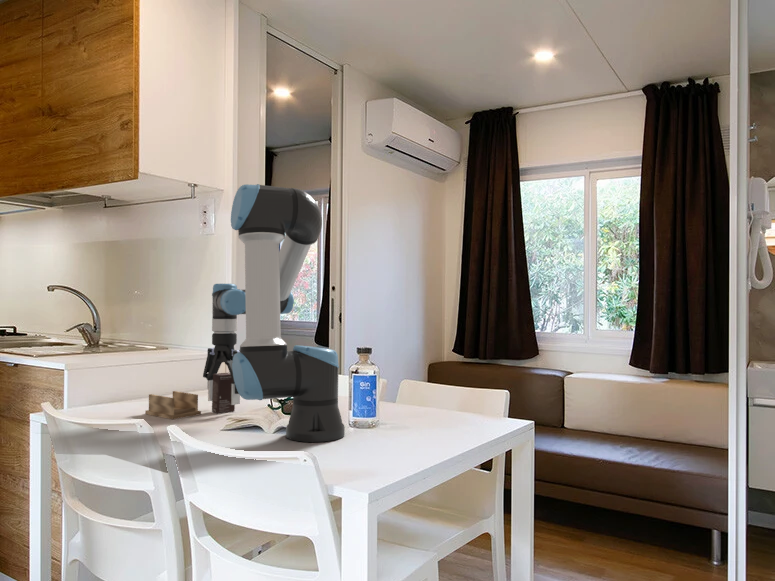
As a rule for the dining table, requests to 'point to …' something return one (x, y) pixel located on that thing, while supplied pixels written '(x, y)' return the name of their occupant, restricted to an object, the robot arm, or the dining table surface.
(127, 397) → the dining table surface
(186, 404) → the holder
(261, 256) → the robot arm
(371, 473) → the dining table surface
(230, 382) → the box
